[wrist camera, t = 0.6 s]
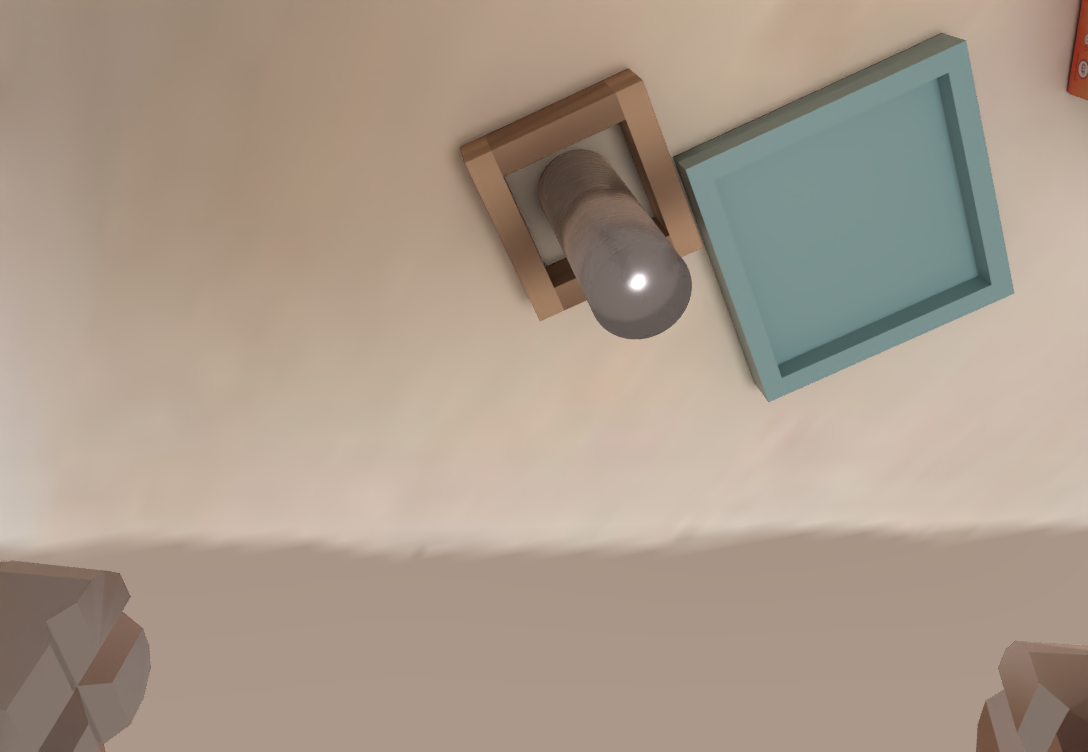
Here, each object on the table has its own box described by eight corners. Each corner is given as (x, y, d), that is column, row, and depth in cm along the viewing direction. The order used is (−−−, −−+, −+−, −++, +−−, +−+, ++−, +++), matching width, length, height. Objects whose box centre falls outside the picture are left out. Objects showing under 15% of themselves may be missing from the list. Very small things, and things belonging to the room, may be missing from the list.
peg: (525, 171, 44) (574, 270, 34) (600, 136, 44) (672, 225, 33) (556, 240, 46) (611, 355, 35) (628, 207, 46) (705, 313, 35)
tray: (673, 157, 45) (685, 169, 43) (942, 33, 44) (965, 40, 42) (755, 383, 51) (768, 402, 49) (991, 278, 50) (1014, 293, 48)
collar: (460, 147, 43) (464, 163, 41) (628, 68, 43) (642, 80, 40) (532, 299, 47) (540, 321, 45) (687, 228, 46) (703, 247, 44)
